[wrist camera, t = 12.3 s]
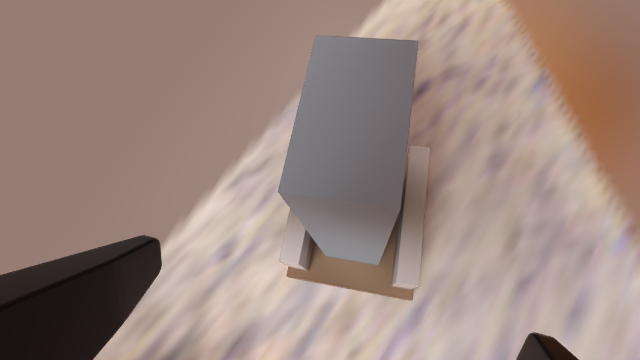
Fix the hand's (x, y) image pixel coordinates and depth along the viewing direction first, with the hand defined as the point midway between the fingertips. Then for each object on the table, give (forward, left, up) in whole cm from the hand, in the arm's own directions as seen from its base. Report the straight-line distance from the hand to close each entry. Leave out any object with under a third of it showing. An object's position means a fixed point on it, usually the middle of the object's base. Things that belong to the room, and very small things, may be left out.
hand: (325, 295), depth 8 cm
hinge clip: (+5, 0, -12) cm, 13 cm away
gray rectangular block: (+5, 0, -11) cm, 12 cm away
